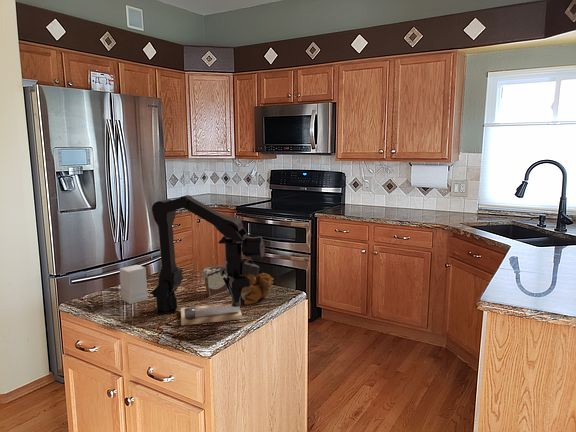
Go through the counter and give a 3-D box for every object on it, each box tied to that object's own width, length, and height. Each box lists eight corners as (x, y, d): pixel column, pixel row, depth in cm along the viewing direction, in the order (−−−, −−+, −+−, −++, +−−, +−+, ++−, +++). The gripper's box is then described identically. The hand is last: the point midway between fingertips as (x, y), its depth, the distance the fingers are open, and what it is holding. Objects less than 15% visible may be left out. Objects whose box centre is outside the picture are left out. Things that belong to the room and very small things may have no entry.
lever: (185, 319, 146) (184, 295, 145) (184, 315, 150) (183, 292, 148) (241, 312, 152) (241, 289, 150) (239, 309, 155) (239, 286, 154)
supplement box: (148, 299, 171) (146, 267, 169) (129, 304, 166) (127, 271, 164) (139, 295, 176) (137, 264, 174) (121, 299, 171) (118, 267, 169)
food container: (220, 287, 185) (219, 263, 183) (230, 290, 181) (229, 266, 179) (196, 295, 175) (195, 270, 174) (206, 298, 171) (205, 273, 170)
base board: (181, 325, 146) (181, 320, 146) (180, 312, 158) (180, 307, 157) (242, 319, 151) (242, 314, 151) (237, 306, 162) (237, 302, 162)
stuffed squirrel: (232, 297, 172) (231, 264, 170) (266, 292, 178) (265, 260, 176) (240, 306, 163) (239, 271, 161) (276, 300, 169) (275, 266, 167)
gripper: (265, 259, 145) (266, 305, 147) (249, 248, 162) (250, 289, 164) (231, 263, 141) (233, 310, 143) (218, 251, 158) (220, 293, 160)
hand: (235, 300), depth 153 cm, fingers open, 4 cm apart
